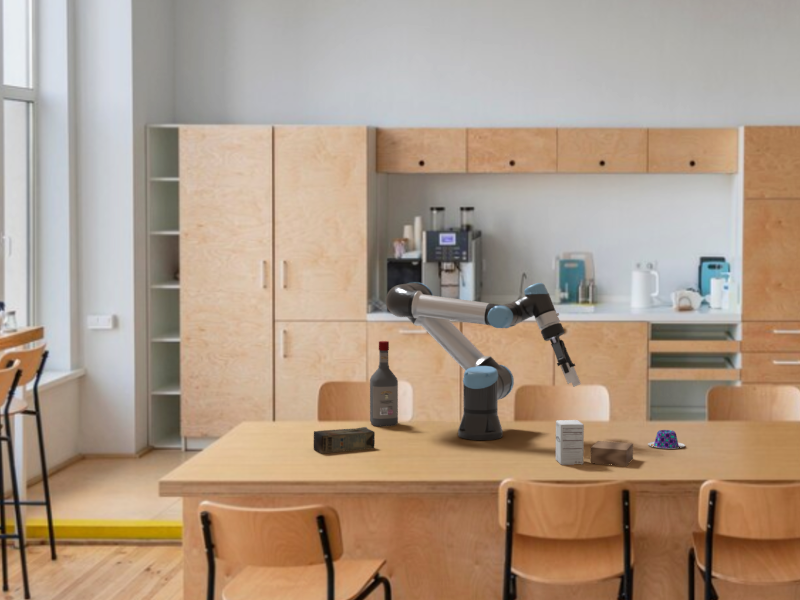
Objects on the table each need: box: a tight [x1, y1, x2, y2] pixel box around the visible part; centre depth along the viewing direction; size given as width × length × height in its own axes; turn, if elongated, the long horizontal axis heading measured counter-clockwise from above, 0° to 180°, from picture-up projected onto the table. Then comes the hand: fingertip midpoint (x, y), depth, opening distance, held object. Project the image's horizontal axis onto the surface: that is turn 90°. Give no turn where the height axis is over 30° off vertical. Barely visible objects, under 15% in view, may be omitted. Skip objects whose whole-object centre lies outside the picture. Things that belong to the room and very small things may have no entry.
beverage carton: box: [313, 426, 376, 454], centre depth 400 cm, size 8×19×7 cm, turn 116°
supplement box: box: [555, 419, 585, 466], centre depth 379 cm, size 7×7×13 cm
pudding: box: [647, 429, 686, 450], centre depth 404 cm, size 12×12×5 cm
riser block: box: [590, 440, 634, 467], centre depth 380 cm, size 11×11×5 cm
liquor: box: [369, 340, 399, 428], centre depth 442 cm, size 9×9×30 cm
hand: (574, 383), depth 415 cm, fingers open, 13 cm apart
